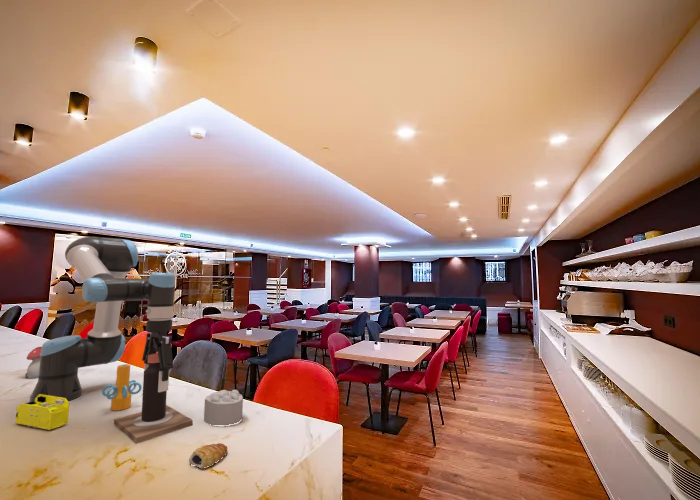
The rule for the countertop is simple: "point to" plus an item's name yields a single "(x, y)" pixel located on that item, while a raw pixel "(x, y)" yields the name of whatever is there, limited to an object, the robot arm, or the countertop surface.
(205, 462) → the pastry
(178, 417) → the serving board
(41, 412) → the yellow toy chassis
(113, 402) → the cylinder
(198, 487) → the countertop surface
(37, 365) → the decorative ornament
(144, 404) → the vinegar
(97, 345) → the robot arm
